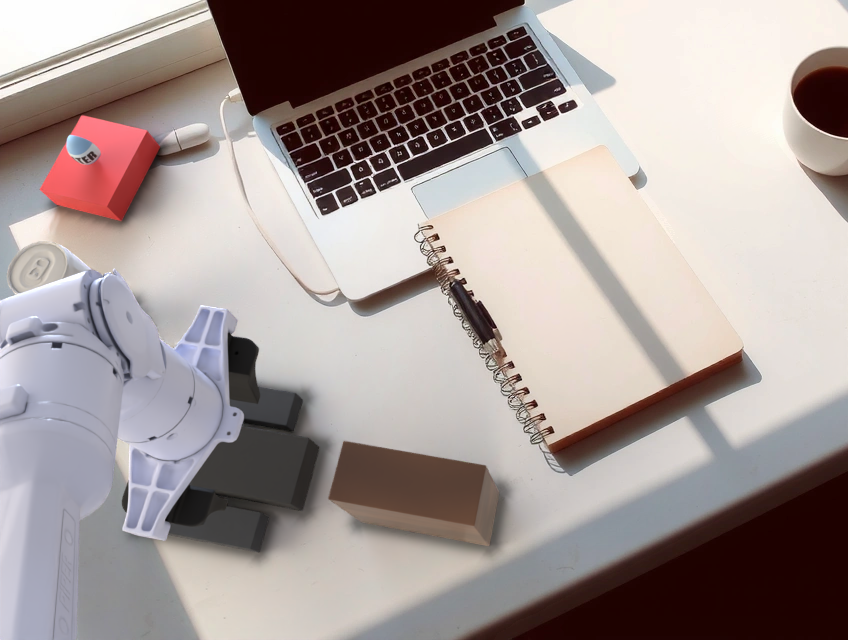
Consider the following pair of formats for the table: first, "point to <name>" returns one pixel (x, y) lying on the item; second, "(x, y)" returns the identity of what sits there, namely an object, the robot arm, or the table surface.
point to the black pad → (261, 468)
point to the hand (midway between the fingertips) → (230, 449)
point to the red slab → (100, 167)
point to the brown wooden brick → (415, 492)
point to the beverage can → (42, 266)
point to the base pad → (239, 523)
